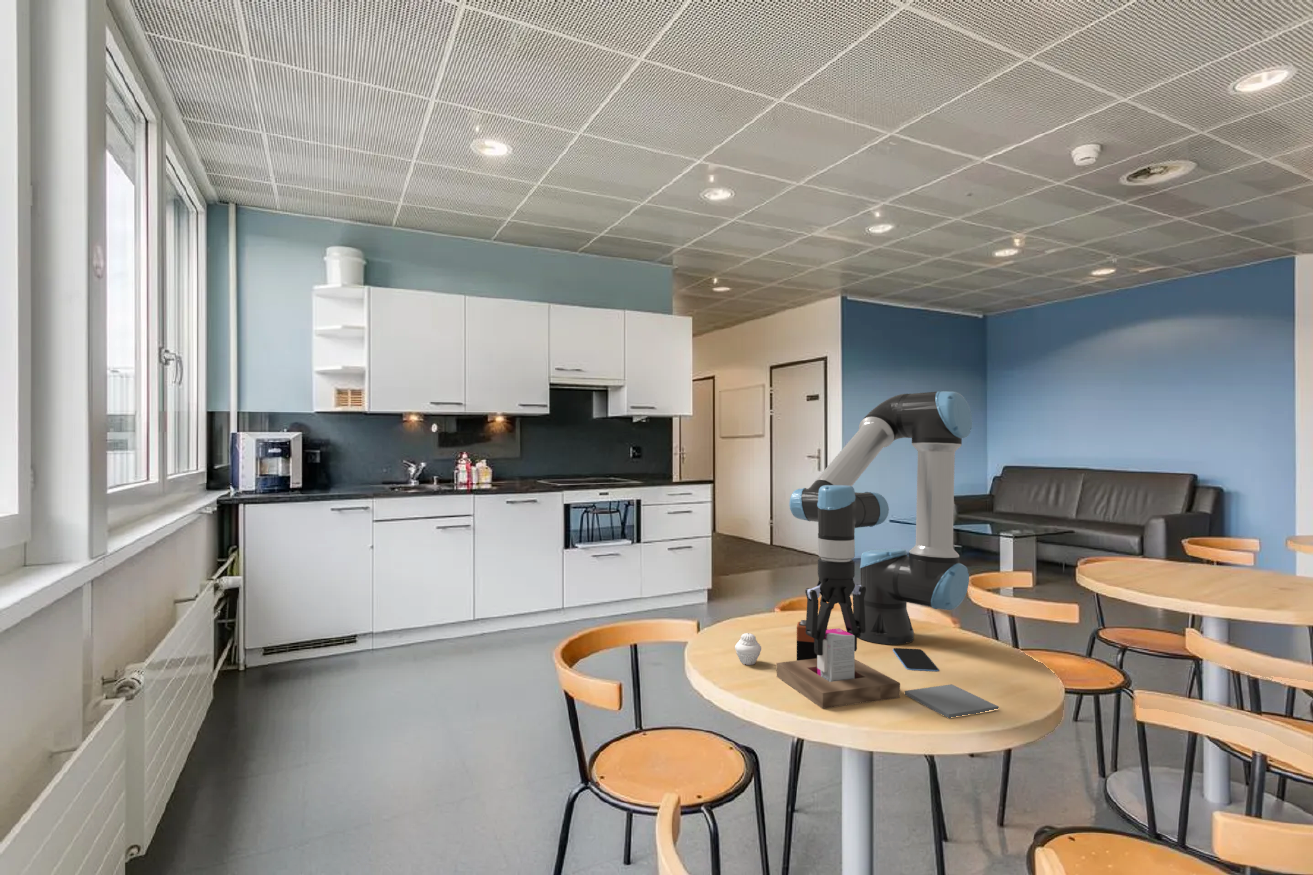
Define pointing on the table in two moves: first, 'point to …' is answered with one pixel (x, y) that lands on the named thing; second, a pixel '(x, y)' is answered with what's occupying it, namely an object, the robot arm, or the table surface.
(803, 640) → the battery
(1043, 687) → the table surface
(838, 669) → the supplement box
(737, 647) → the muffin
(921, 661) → the smartphone
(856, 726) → the table surface
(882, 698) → the holder
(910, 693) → the mat
